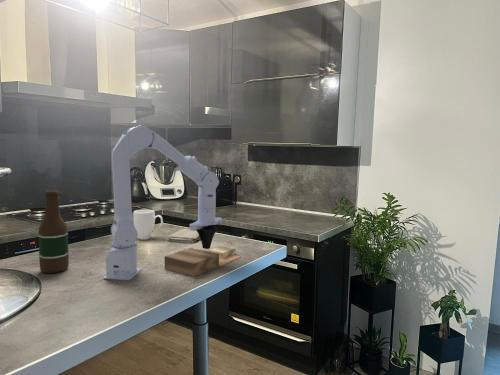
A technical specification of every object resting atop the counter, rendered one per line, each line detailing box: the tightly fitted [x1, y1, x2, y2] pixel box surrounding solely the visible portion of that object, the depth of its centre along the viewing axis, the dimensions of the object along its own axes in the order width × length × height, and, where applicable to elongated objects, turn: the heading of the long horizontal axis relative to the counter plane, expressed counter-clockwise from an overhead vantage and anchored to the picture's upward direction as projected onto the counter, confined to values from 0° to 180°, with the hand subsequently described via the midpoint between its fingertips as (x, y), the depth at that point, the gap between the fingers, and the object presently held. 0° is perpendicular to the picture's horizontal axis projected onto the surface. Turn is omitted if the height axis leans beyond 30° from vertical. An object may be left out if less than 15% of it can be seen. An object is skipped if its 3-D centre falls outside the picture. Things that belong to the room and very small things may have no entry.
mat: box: [207, 250, 242, 267], centre depth 125 cm, size 12×13×1 cm
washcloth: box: [166, 228, 201, 245], centre depth 152 cm, size 12×18×3 cm, turn 166°
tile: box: [208, 244, 237, 259], centre depth 128 cm, size 8×6×2 cm
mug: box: [132, 208, 164, 241], centre depth 149 cm, size 12×8×11 cm
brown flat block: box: [164, 247, 220, 278], centre depth 115 cm, size 12×12×4 cm
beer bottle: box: [37, 189, 70, 274], centre depth 109 cm, size 8×8×24 cm
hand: (206, 248), depth 120 cm, fingers closed
